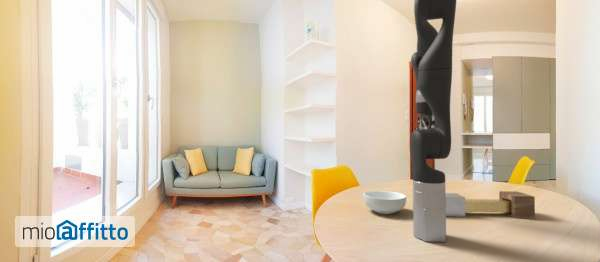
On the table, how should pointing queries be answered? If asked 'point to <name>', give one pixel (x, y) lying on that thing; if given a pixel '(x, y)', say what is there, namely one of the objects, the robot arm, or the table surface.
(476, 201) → the rod
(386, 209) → the cereal bowl
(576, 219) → the table surface
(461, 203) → the sleeve
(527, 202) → the socket
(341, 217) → the table surface
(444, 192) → the robot arm
